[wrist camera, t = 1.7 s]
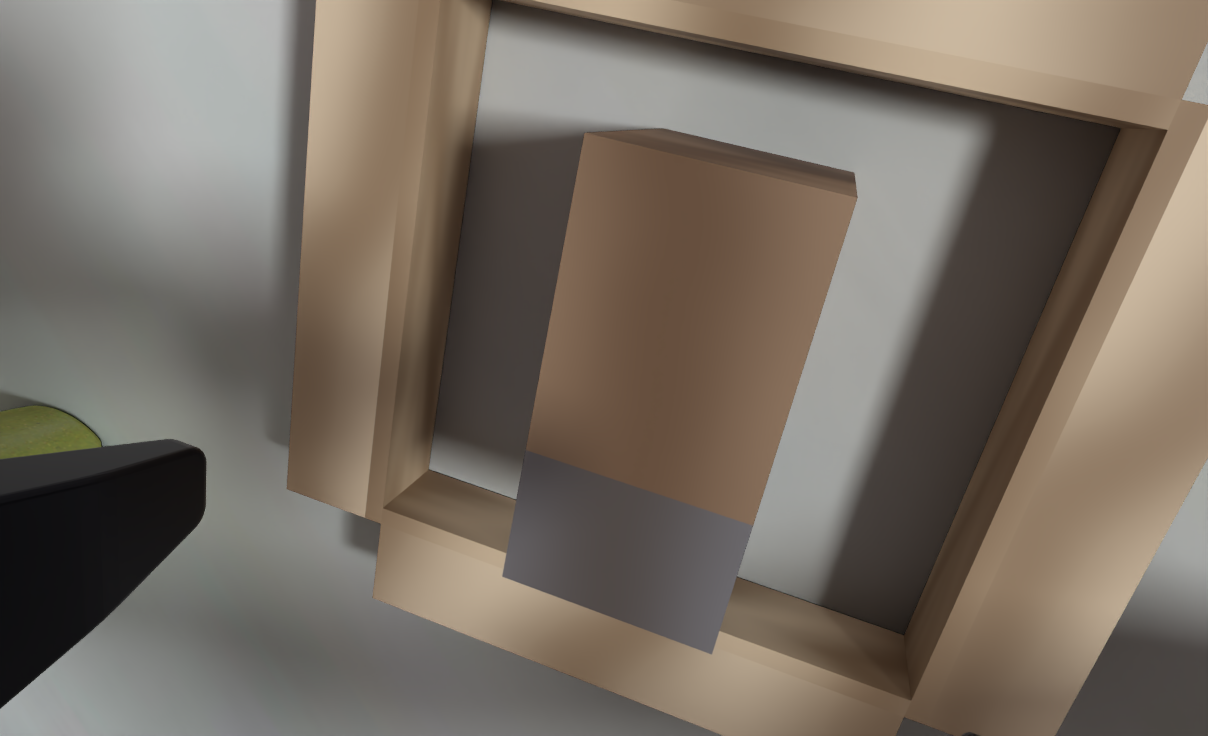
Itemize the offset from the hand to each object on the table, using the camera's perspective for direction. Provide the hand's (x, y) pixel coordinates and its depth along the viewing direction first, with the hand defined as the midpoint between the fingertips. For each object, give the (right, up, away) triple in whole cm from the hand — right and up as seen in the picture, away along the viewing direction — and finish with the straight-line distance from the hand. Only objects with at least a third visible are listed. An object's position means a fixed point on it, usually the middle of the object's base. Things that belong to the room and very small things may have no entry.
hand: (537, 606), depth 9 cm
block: (+3, +4, +11) cm, 12 cm away
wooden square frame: (+3, +4, +11) cm, 12 cm away
